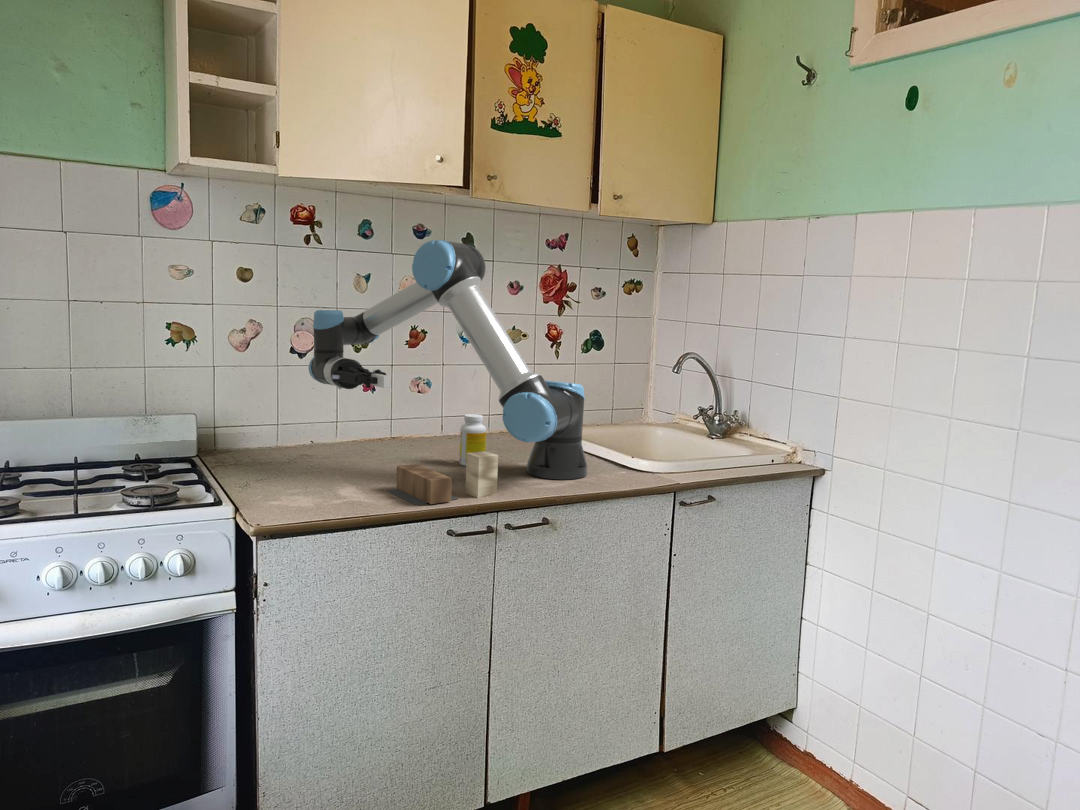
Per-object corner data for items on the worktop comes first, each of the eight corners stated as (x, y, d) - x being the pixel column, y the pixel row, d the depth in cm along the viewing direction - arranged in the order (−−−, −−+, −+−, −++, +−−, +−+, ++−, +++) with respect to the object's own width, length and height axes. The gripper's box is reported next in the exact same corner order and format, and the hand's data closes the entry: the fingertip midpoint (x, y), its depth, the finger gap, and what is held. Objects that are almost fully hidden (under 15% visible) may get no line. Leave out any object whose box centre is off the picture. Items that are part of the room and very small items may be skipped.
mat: (427, 486, 179) (427, 484, 179) (457, 499, 169) (457, 498, 169) (387, 491, 173) (387, 490, 173) (416, 505, 163) (416, 504, 163)
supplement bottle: (490, 465, 203) (492, 416, 201) (470, 468, 198) (472, 418, 196) (473, 460, 207) (475, 412, 205) (454, 463, 203) (455, 414, 201)
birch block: (484, 490, 178) (485, 451, 176) (496, 495, 174) (498, 455, 172) (465, 492, 175) (466, 453, 173) (477, 498, 171) (479, 457, 169)
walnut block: (417, 463, 177) (451, 478, 165) (416, 485, 178) (451, 501, 166) (397, 466, 174) (431, 480, 162) (396, 488, 175) (430, 504, 163)
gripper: (368, 386, 204) (412, 396, 185) (319, 389, 196) (360, 399, 177) (367, 357, 203) (412, 364, 184) (319, 359, 195) (360, 366, 176)
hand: (386, 381), depth 181 cm, fingers closed
